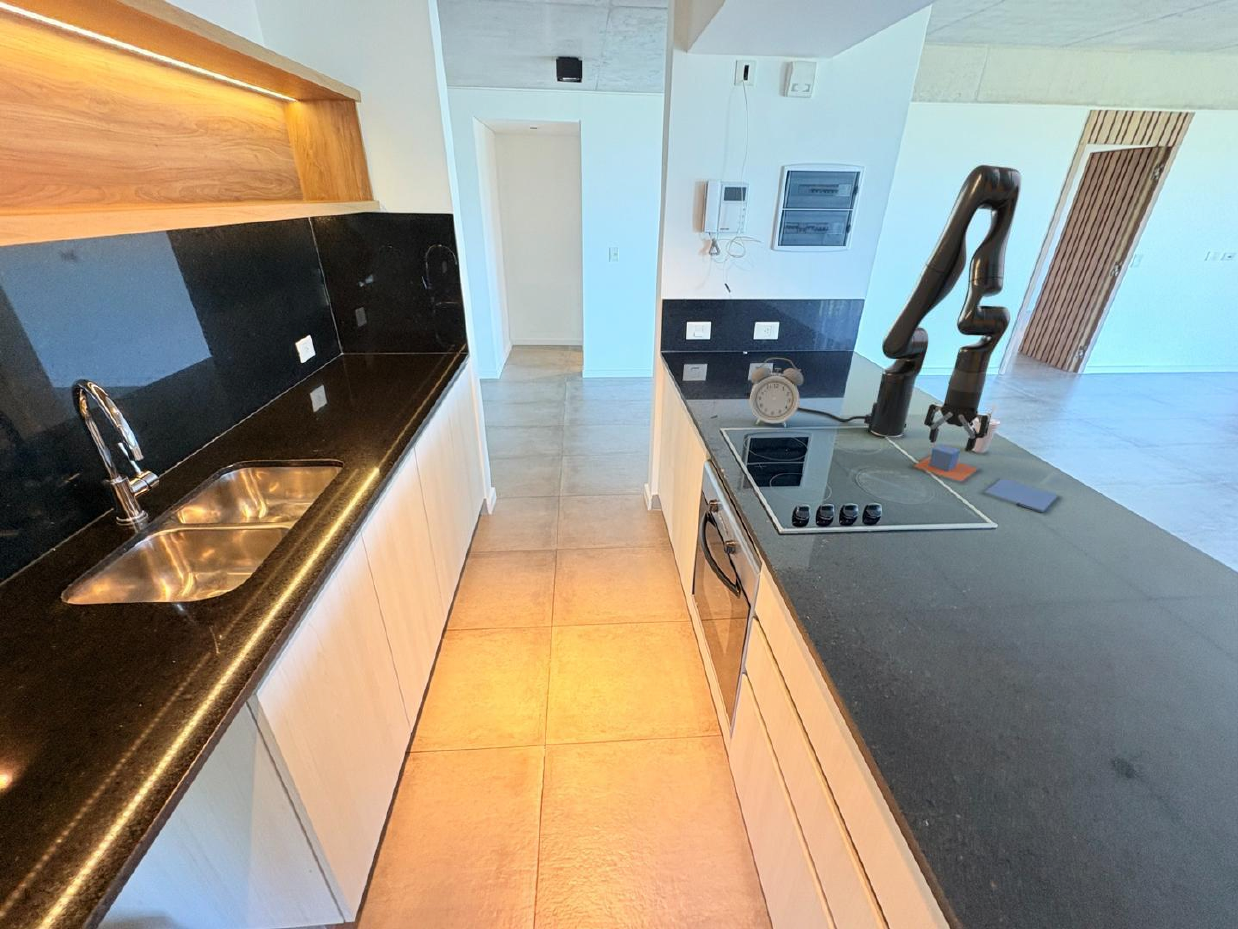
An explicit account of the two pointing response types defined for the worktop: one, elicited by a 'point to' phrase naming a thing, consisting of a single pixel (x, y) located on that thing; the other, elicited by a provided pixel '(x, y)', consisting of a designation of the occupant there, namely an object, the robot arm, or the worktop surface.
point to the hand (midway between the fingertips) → (949, 446)
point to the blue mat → (1023, 495)
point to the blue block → (944, 457)
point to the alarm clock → (775, 393)
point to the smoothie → (984, 442)
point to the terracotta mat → (956, 473)
